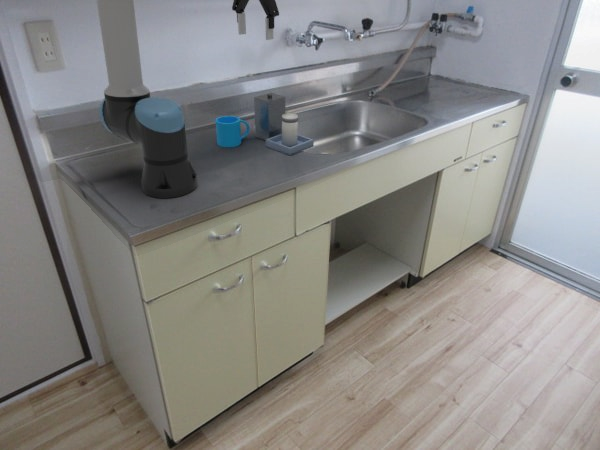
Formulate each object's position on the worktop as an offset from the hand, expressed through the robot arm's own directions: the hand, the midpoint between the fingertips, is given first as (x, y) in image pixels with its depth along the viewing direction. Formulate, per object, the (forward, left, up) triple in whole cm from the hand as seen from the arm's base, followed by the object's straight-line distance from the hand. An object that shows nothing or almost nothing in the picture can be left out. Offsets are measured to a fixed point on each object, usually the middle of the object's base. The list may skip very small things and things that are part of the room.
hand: (255, 36), depth 153 cm
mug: (-16, -5, -32) cm, 36 cm away
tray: (-5, -21, -32) cm, 38 cm away
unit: (-3, -10, -32) cm, 33 cm away
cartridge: (-5, -21, -31) cm, 38 cm away
